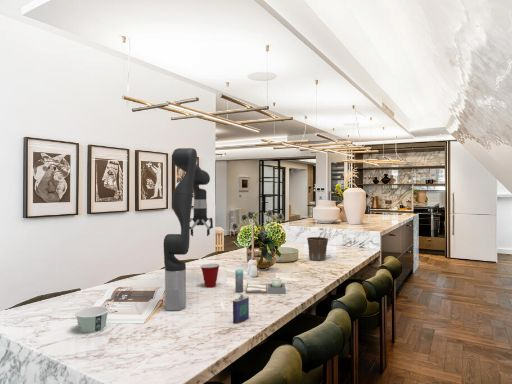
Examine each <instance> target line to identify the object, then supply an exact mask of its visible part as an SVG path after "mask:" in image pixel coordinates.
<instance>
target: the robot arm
mask: <svg viewBox="0 0 512 384" xmlns="http://www.w3.org/2000/svg"><path fill="white" fill-rule="evenodd" d="M197 161H198V153H197V150H196V149H195V148H193V147H192V148H191V147H188V148H187V147H183V148H181V147H180V148H178V147H177V148H176V149H174V150H173V152H172V163H173V165H174V166H175V167H177V168H178V169H180V170H182V171H183V172H185V174H184V175H183V178H182V179H181V180H180V181H179V182H178V184H177V185H176V186H175V188H174V189H173V191H172V199H171V207H172V210H173V212H174V214H175V216H176V217H177V220H178V222H179V225H180V233H168V234H166V235H165V236H164V238H163V260H164V261H163V262H164V308H165V311H181V310H184V309H186V307H187V303H186V302H187V300H186V299H187V296H186V295H187V284H186V282H187V280H186V279H187V277H186V276H187V266H186V265H187V264H186V262H185V261H182V260H180V259H179V258H177V257H176V256H175V255H178V256H180V255H182V256H184V255H186V254H188V252H189V249H190V238H191V237H194V229H195V227H196V226H205V227H206V237H209V236H210V235H211V233H210V230H211V229H213V228H214V221H213V218H212V217H208V203H207V190H206V189H205V188H200V187H199V186H200V185H201V186H206V185H208V184H209V183H210V181H211V176H210V175H209V173H208V172H207V171H206V170H204V169H201V167H200V166H199V165H198V164H197ZM192 206H193V217H191V214H192ZM192 221H193V224H192V226H191V223H192ZM207 222H209V224H210V225H208V224H207ZM190 236H191V237H190Z"/></svg>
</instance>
